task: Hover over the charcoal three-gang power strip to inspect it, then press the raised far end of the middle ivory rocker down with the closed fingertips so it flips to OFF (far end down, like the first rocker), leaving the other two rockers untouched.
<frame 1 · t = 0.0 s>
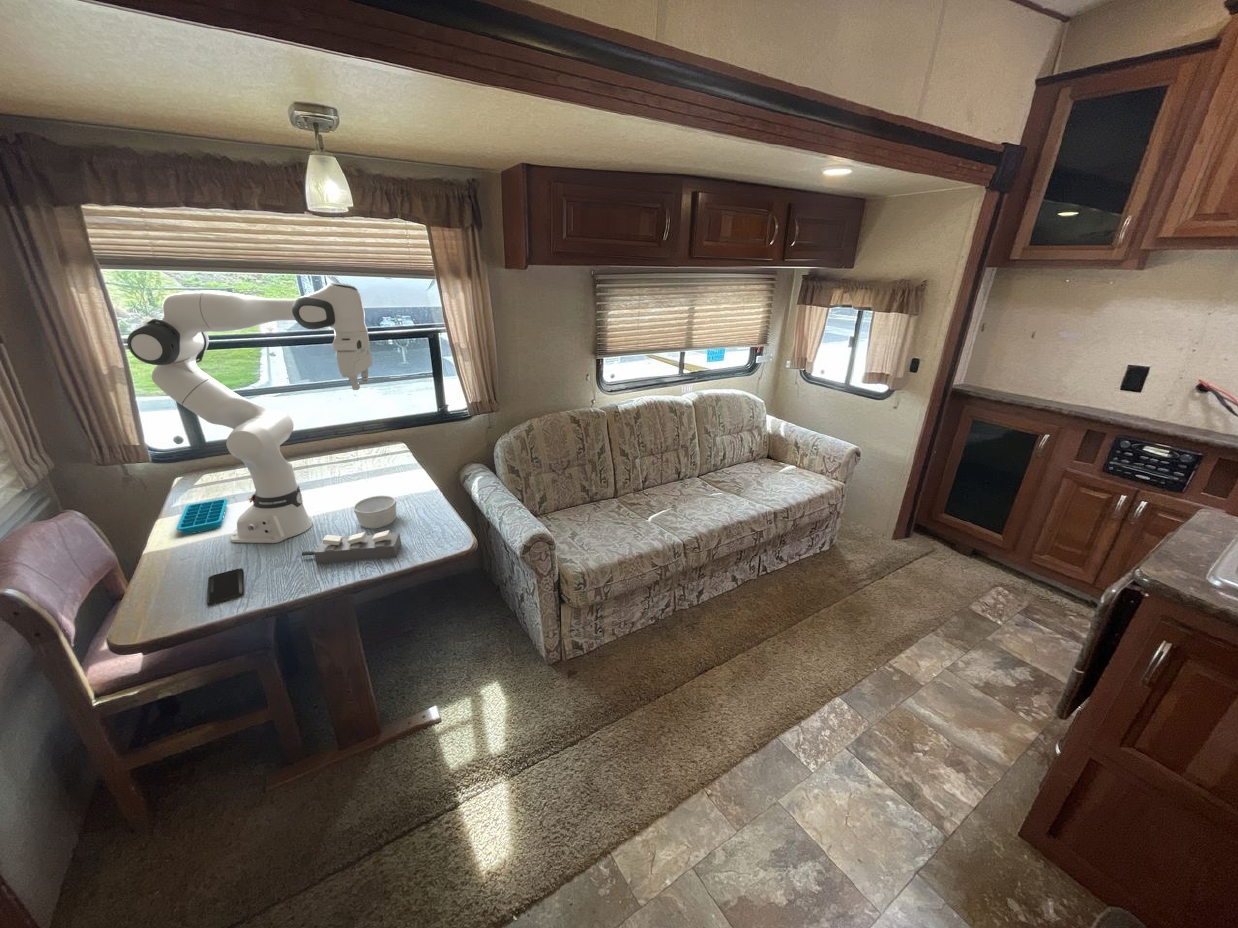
hand: (361, 386, 150), 48 cm above the table, fingers open, 8 cm apart
power strip: (360, 553, 150), on the table
ramekin: (378, 521, 169), on the table
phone: (226, 588, 133), on the table
rocker 2: (357, 538, 147), point 5 cm above the table, hinge at -13.0°
rocker 1: (332, 539, 146), point 5 cm above the table, hinge at 13.0°
ice cube tray: (206, 521, 167), on the table
rocker 3: (381, 536, 149), point 5 cm above the table, hinge at -13.0°
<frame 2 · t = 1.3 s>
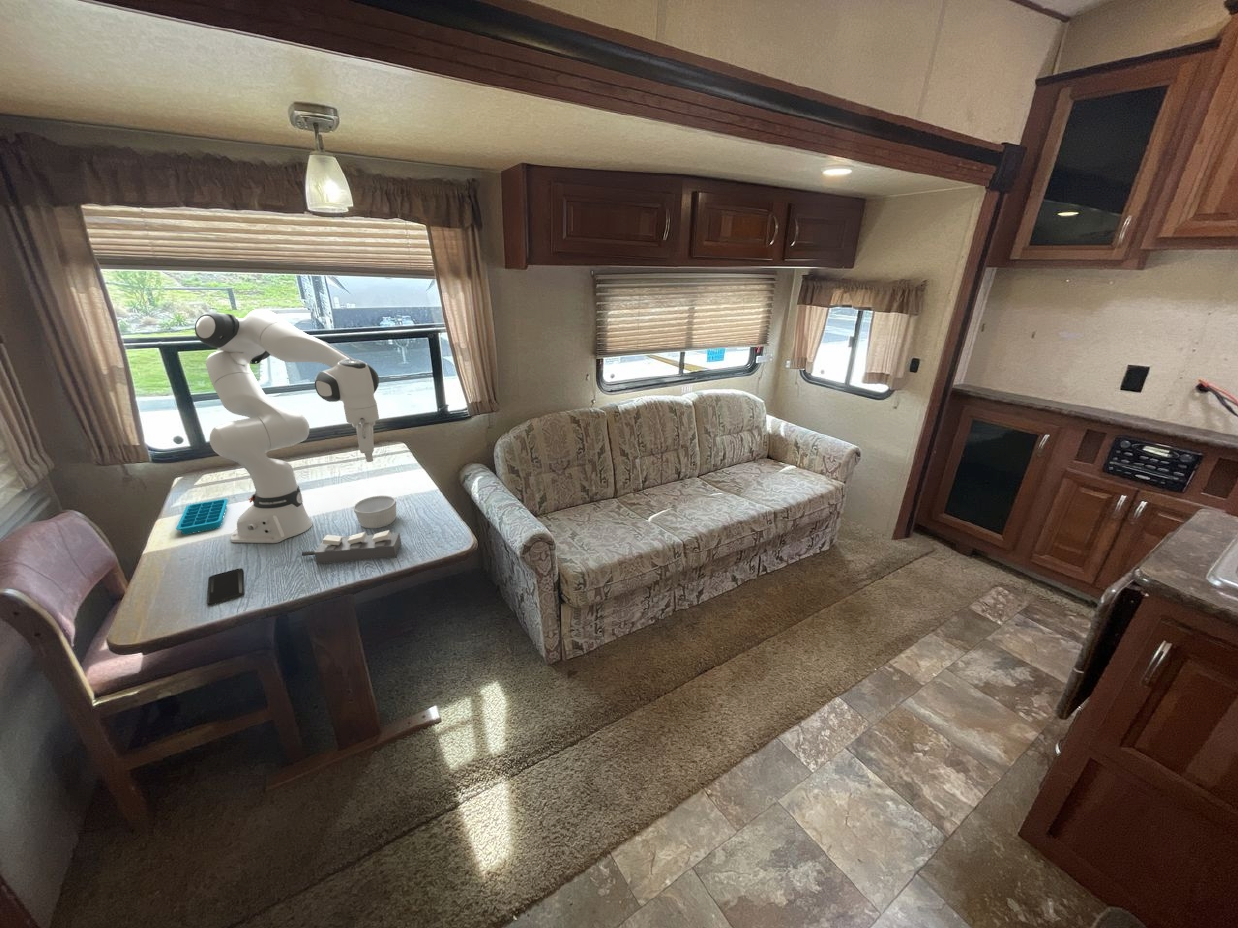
hand: (370, 457, 151), 27 cm above the table, fingers open, 6 cm apart
nothing on the table moved.
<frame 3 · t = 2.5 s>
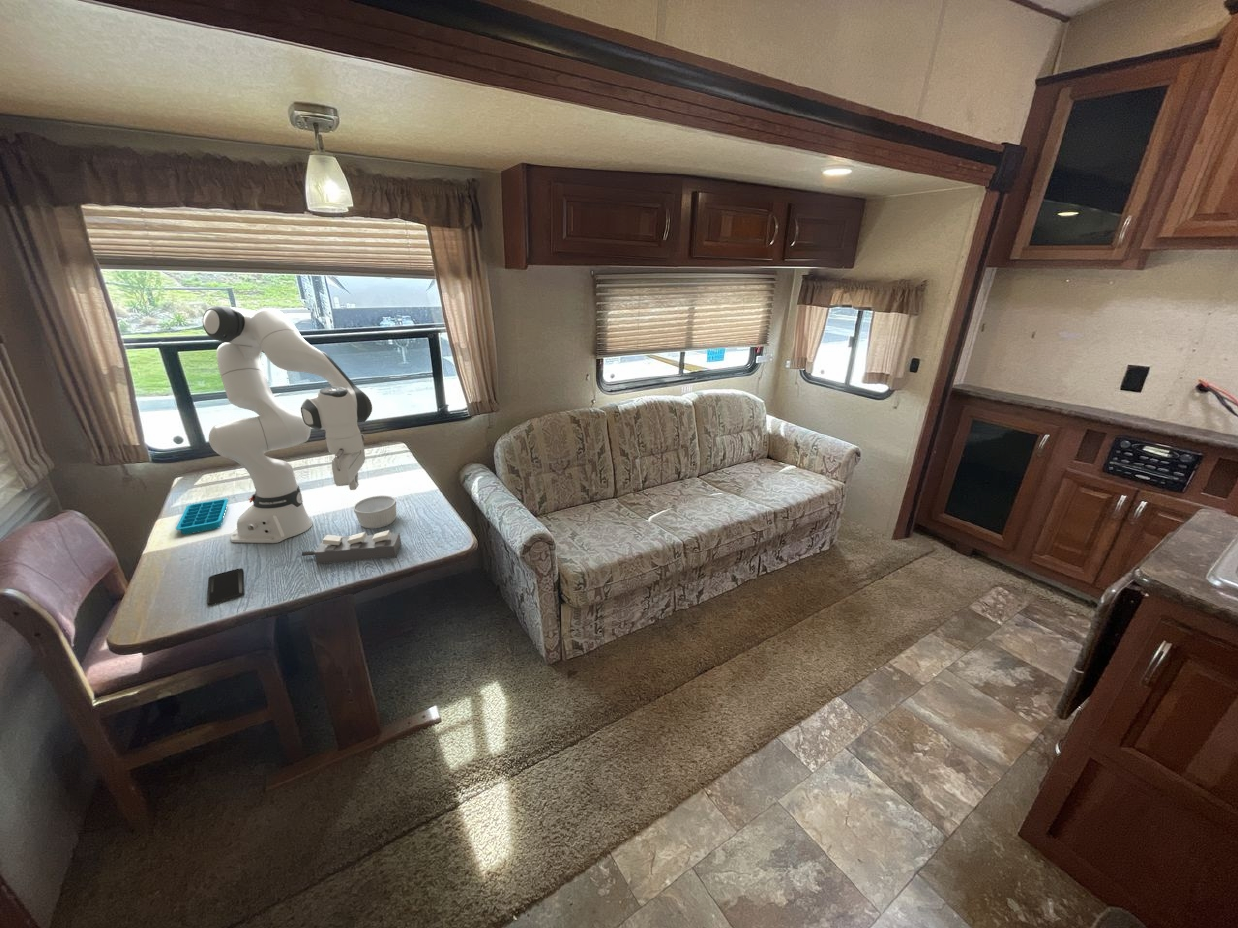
hand: (354, 488, 144), 21 cm above the table, fingers closed
nothing on the table moved.
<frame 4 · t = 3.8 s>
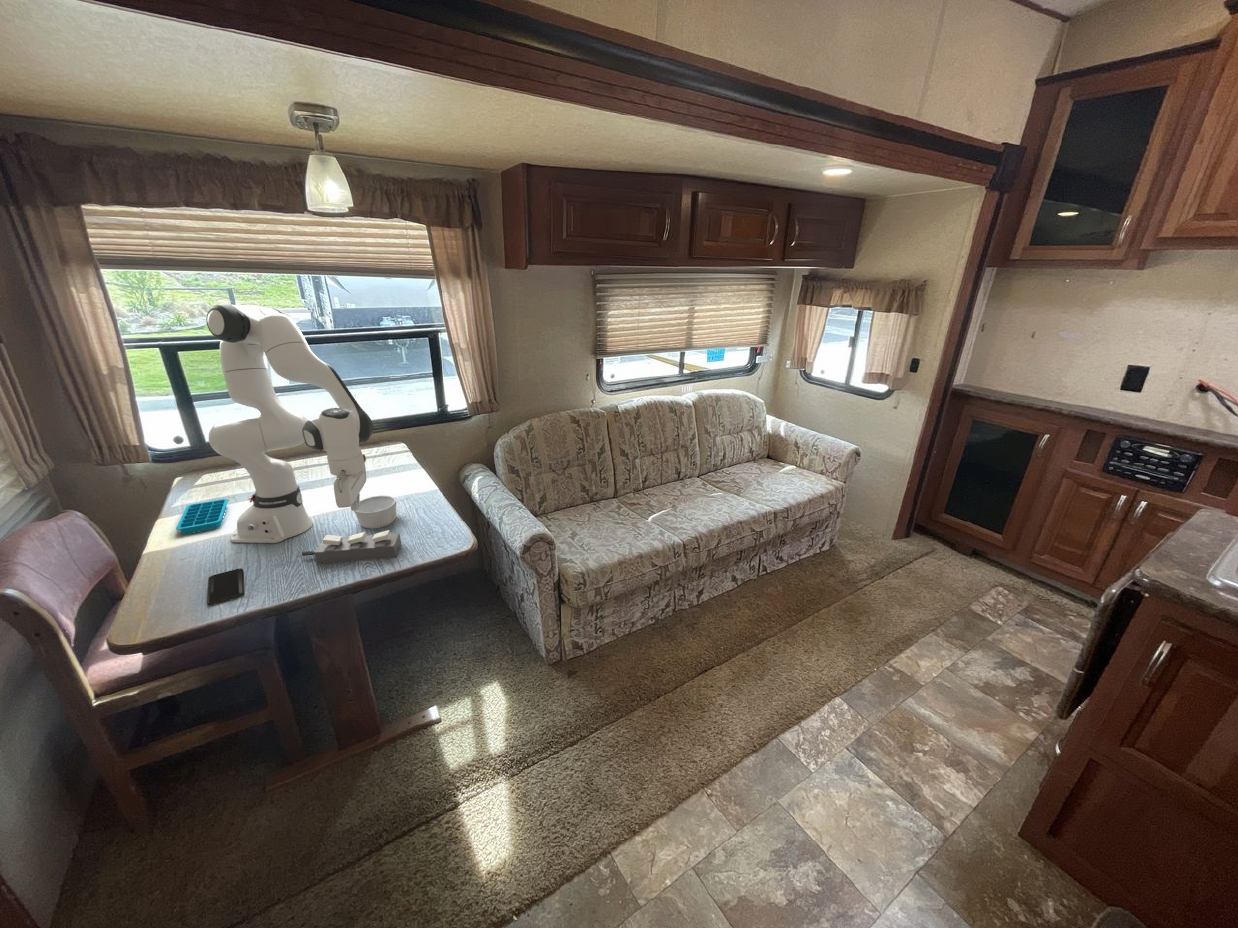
hand: (356, 508, 144), 16 cm above the table, fingers closed
nothing on the table moved.
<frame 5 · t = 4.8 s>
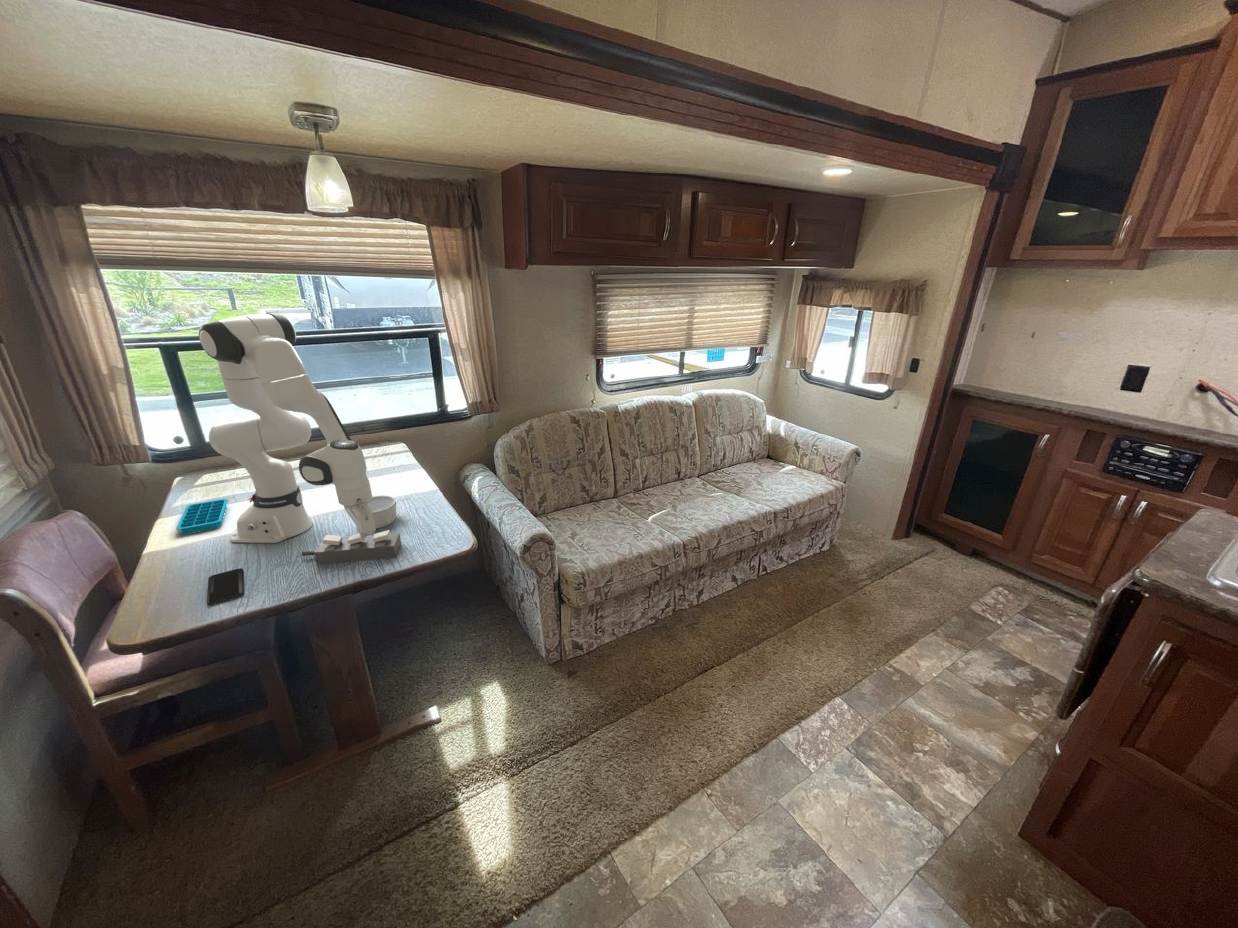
hand: (363, 535, 147), 7 cm above the table, fingers closed, pressing on rocker 2
rocker 2: (357, 538, 147), point 5 cm above the table, hinge at -12.6°, touching gripper
everything else where it was.
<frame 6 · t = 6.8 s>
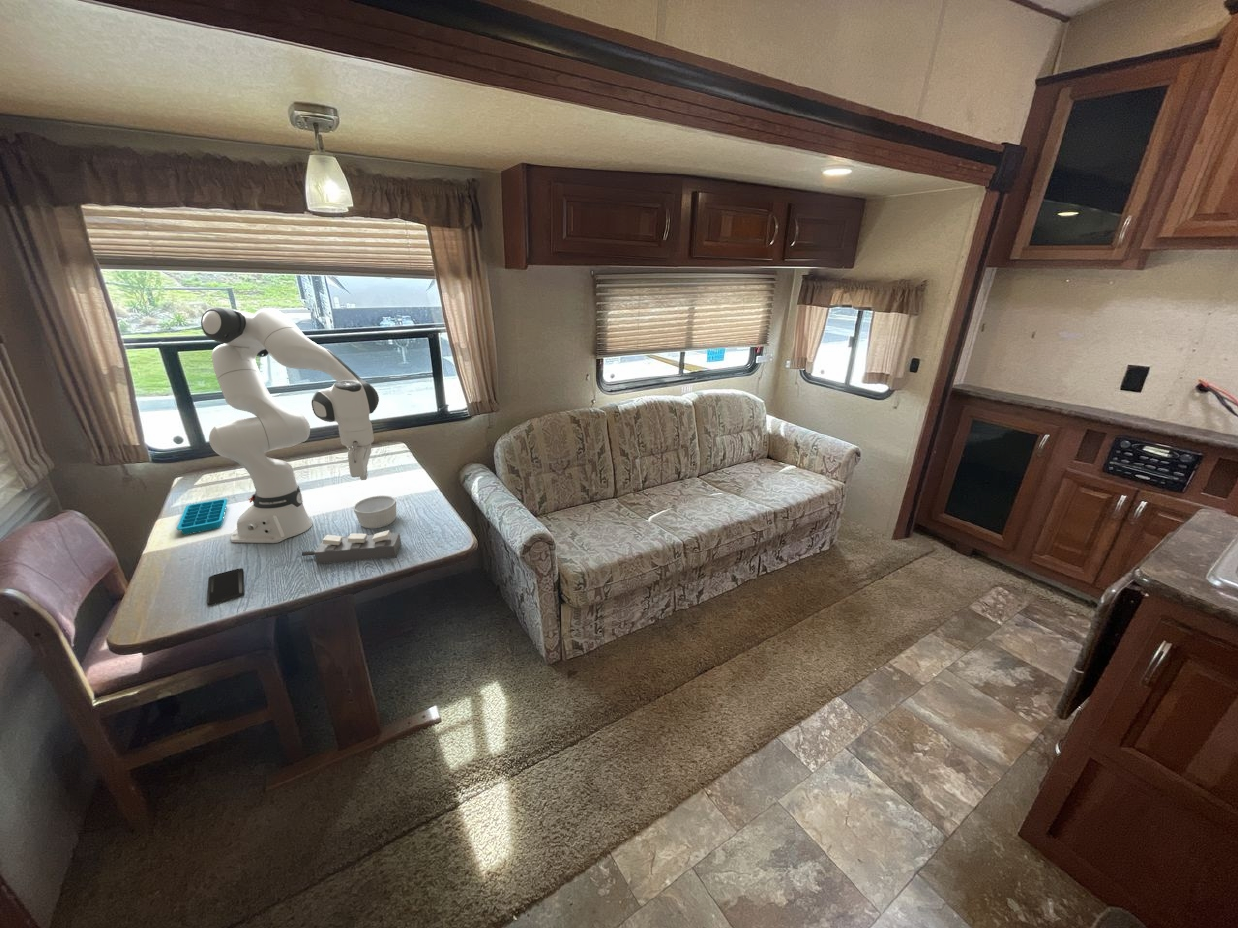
hand: (364, 478, 149), 22 cm above the table, fingers closed
rocker 2: (357, 538, 148), point 5 cm above the table, hinge at 7.2°
everything else where it was.
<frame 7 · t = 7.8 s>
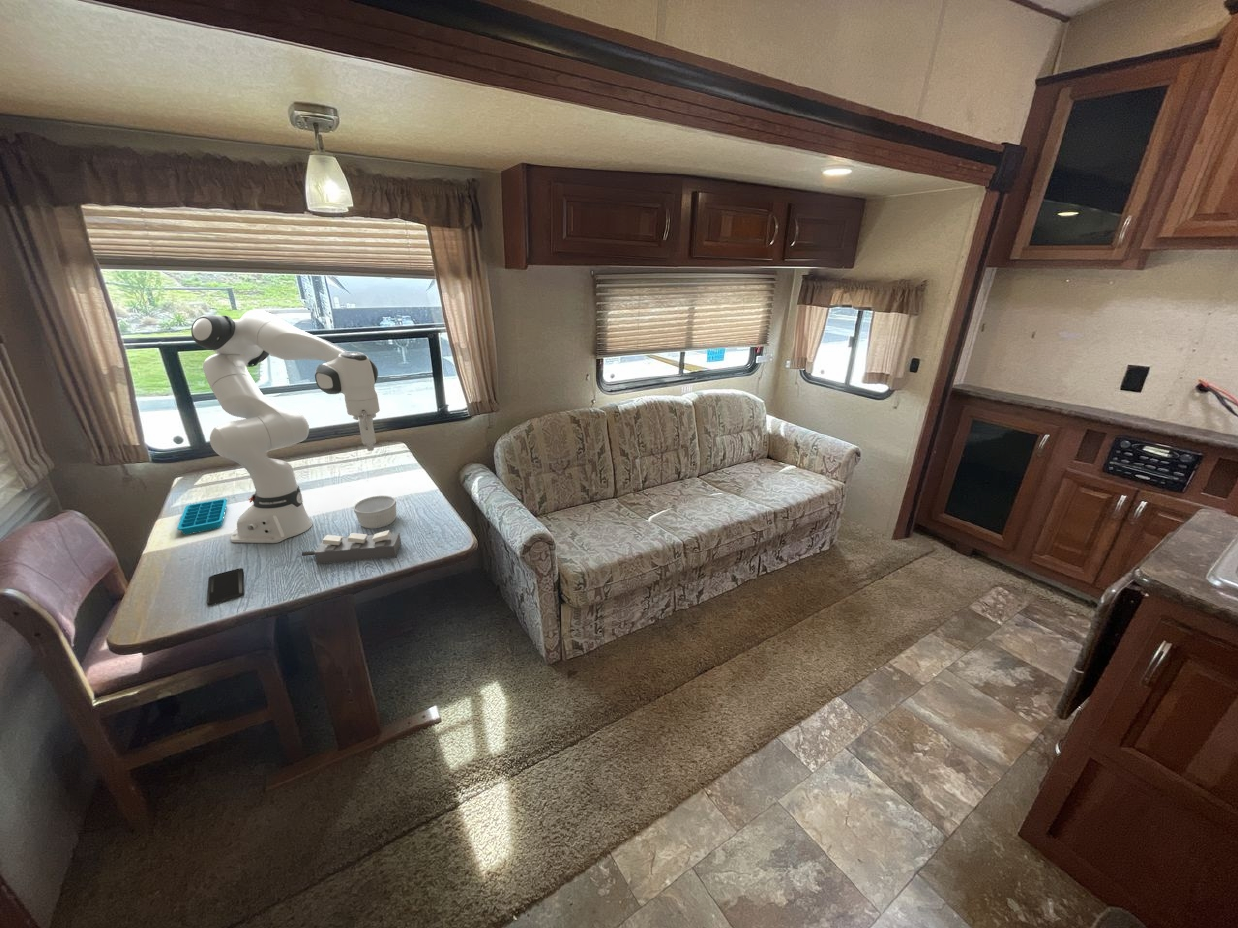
hand: (370, 449, 152), 29 cm above the table, fingers closed
rocker 2: (357, 538, 148), point 5 cm above the table, hinge at 12.8°
everything else where it was.
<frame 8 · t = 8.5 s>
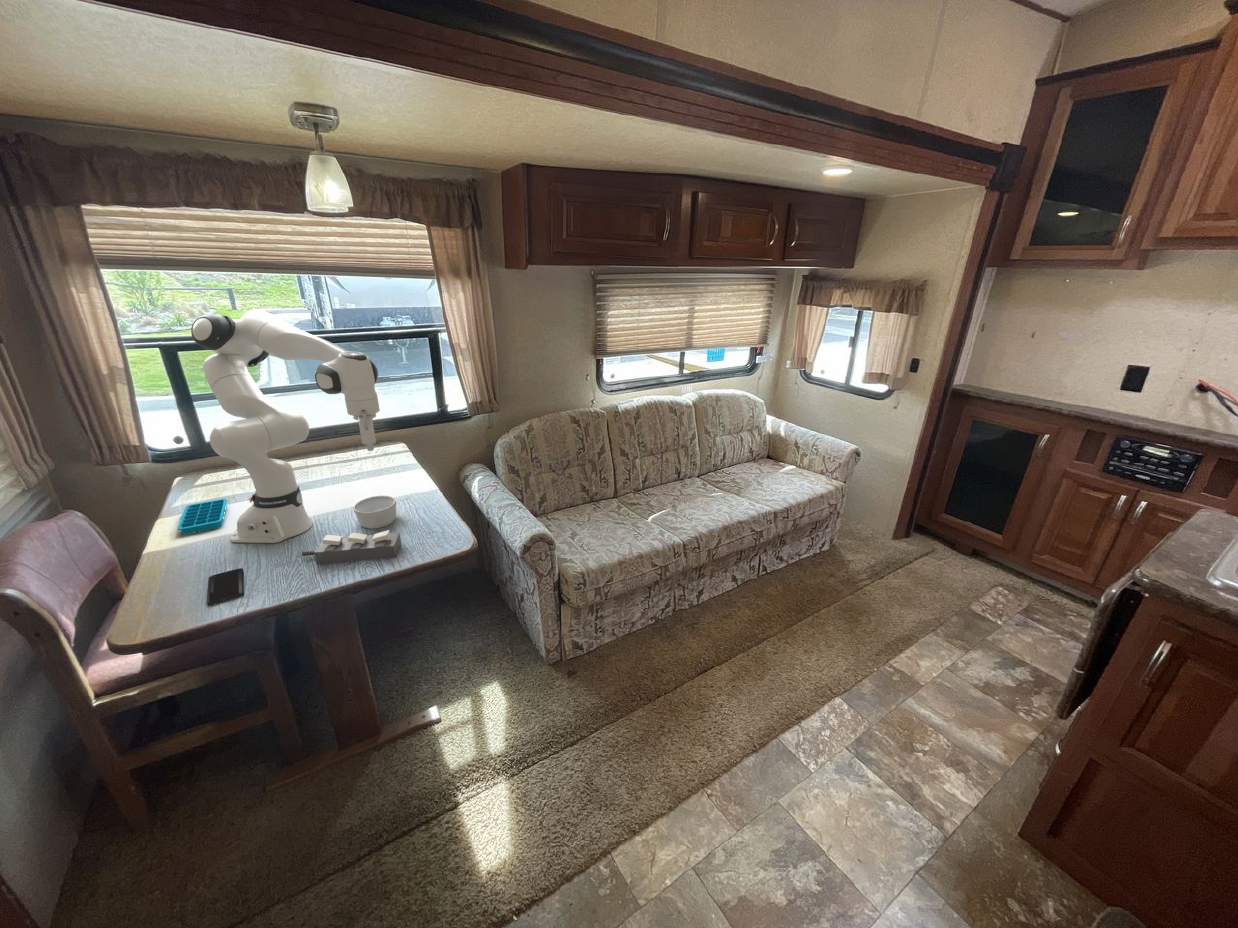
hand: (370, 449, 152), 29 cm above the table, fingers closed
rocker 2: (357, 538, 148), point 5 cm above the table, hinge at 15.9°
everything else where it was.
at the end: rocker 2 at +17° (first picture: -13°); rocker 1 at +13° (first picture: +13°); rocker 3 at -13° (first picture: -13°) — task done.
